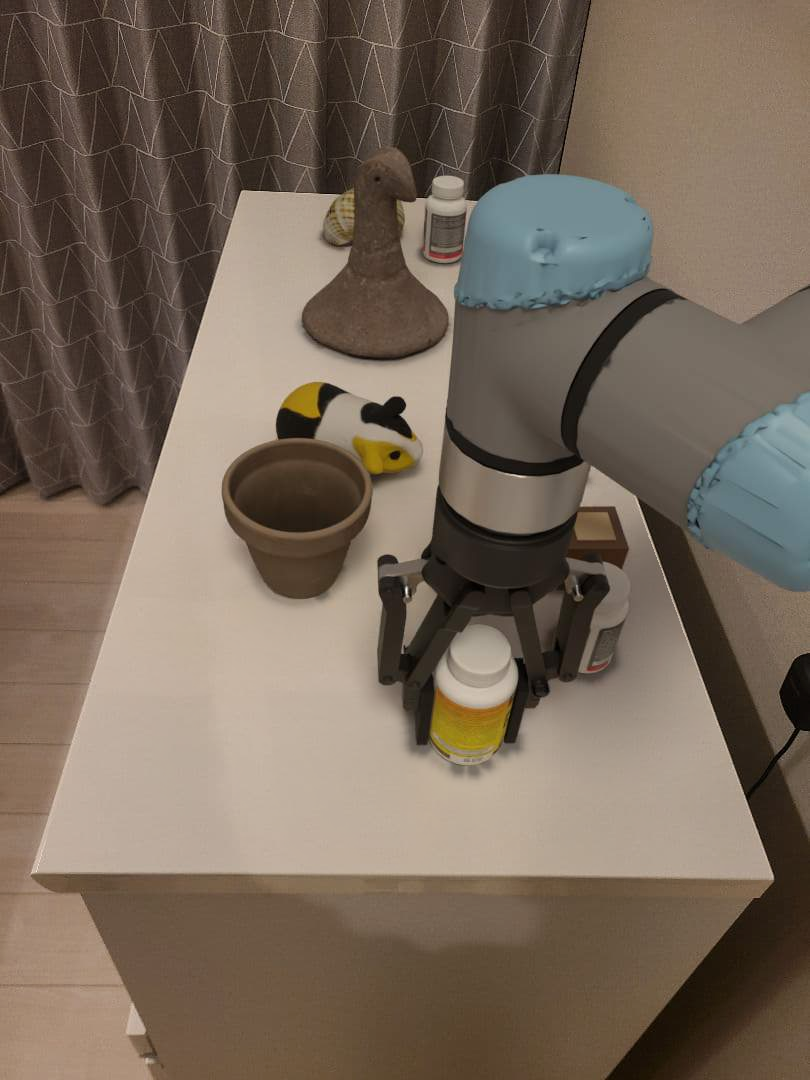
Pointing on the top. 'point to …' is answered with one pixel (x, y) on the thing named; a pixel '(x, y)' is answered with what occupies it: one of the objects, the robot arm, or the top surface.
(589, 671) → the pill bottle
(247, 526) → the flower pot
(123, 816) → the top surface
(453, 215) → the pill bottle
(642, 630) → the top surface
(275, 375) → the top surface
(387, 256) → the sculpture
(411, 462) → the figurine
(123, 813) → the top surface
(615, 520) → the block near
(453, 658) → the supplement bottle
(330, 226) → the seashell
